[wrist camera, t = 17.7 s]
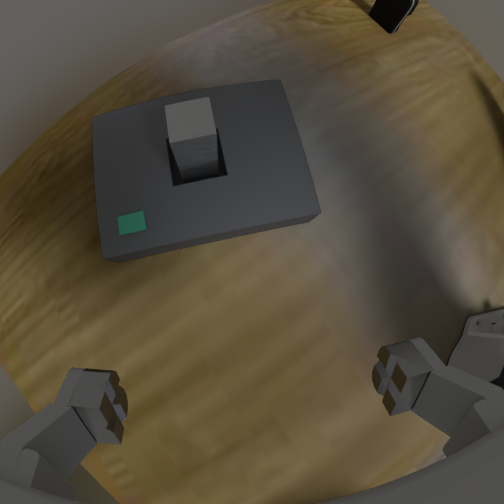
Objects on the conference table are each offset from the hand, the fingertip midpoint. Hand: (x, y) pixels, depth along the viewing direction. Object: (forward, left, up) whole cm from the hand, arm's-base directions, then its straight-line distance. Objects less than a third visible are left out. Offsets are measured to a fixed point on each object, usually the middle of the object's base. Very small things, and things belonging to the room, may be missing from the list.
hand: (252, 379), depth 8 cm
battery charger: (-41, -46, -27) cm, 67 cm away
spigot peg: (0, -17, -26) cm, 31 cm away
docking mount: (0, -17, -27) cm, 32 cm away
